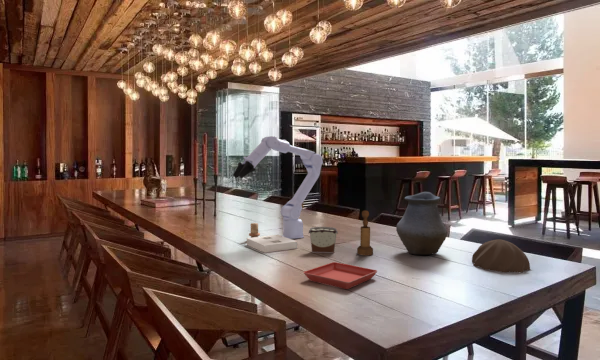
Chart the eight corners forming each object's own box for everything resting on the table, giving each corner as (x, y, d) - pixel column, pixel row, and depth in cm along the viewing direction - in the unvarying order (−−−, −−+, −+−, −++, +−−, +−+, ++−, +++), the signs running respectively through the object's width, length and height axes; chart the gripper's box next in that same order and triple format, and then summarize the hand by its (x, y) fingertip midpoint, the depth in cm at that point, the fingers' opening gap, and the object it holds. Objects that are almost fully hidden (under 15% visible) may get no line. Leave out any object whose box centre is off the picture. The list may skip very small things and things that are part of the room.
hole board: (278, 240, 203) (278, 234, 202) (297, 248, 187) (297, 241, 187) (246, 244, 194) (246, 238, 194) (264, 252, 179) (264, 245, 179)
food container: (338, 249, 185) (338, 226, 184) (337, 252, 178) (337, 229, 178) (309, 249, 186) (309, 226, 185) (308, 252, 180) (308, 228, 179)
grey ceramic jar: (389, 255, 174) (390, 194, 172) (403, 245, 193) (404, 190, 191) (442, 261, 164) (443, 196, 162) (451, 250, 183) (452, 192, 182)
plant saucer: (333, 270, 154) (333, 261, 154) (378, 279, 142) (378, 269, 142) (302, 281, 140) (302, 271, 140) (348, 293, 129) (348, 282, 128)
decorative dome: (496, 275, 146) (497, 246, 146) (460, 261, 166) (461, 235, 165) (542, 271, 152) (543, 243, 151) (502, 257, 171) (503, 233, 170)
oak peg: (257, 238, 208) (257, 222, 207) (261, 240, 203) (261, 224, 203) (247, 240, 205) (247, 223, 204) (251, 241, 200) (251, 225, 200)
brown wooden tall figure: (372, 255, 173) (373, 211, 172) (356, 255, 174) (356, 211, 173) (373, 252, 180) (373, 209, 178) (357, 251, 181) (358, 209, 180)
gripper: (245, 150, 204) (226, 170, 200) (256, 148, 191) (236, 170, 187) (255, 161, 206) (236, 181, 202) (267, 159, 194) (247, 181, 189)
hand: (237, 176), depth 195 cm, fingers open, 7 cm apart
